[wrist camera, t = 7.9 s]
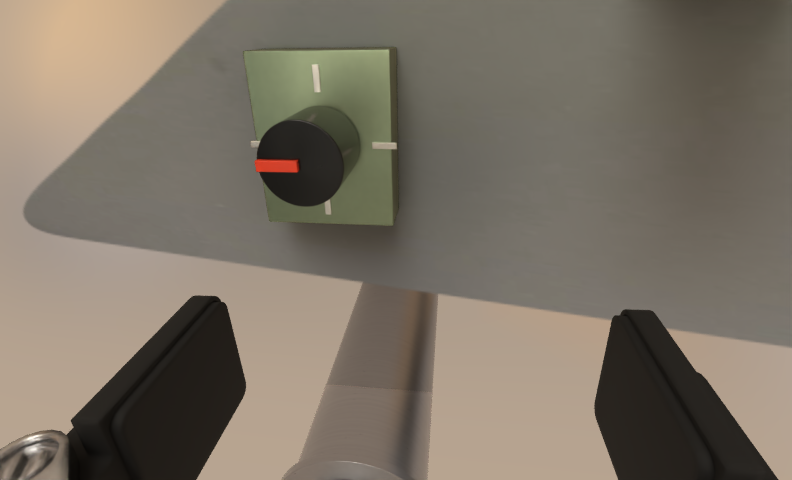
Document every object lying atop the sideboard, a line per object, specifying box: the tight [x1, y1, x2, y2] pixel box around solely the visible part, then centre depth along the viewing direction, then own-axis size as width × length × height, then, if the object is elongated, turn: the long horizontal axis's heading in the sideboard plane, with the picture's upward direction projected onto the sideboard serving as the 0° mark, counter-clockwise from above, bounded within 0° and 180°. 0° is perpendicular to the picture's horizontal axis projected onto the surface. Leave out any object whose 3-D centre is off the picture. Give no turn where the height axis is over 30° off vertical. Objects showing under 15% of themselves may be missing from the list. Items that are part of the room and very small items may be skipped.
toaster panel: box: [243, 47, 399, 226], centre depth 26 cm, size 10×9×3 cm
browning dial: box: [255, 106, 360, 207], centre depth 23 cm, size 4×4×4 cm
